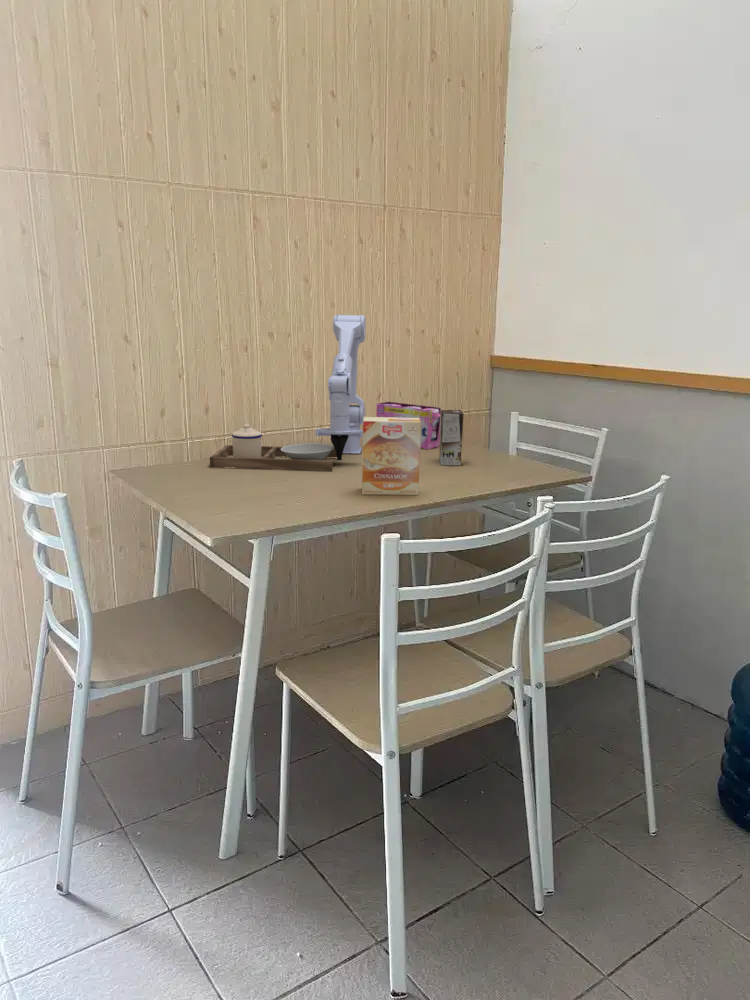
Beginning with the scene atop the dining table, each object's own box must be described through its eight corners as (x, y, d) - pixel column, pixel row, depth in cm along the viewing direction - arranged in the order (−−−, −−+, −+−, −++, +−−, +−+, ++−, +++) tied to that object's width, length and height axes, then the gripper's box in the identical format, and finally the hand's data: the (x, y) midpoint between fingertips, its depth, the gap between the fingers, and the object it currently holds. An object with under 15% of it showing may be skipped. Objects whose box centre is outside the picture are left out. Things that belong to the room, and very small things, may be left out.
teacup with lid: (268, 462, 230) (267, 425, 227) (243, 466, 224) (242, 428, 221) (246, 456, 239) (245, 420, 236) (221, 460, 232) (220, 423, 229)
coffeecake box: (361, 494, 195) (362, 420, 190) (361, 488, 202) (362, 416, 197) (419, 495, 196) (421, 421, 190) (417, 488, 202) (419, 416, 197)
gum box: (443, 447, 260) (445, 408, 256) (430, 450, 254) (432, 410, 250) (388, 438, 274) (389, 401, 270) (374, 441, 268) (375, 403, 264)
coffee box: (461, 465, 231) (464, 413, 227) (440, 465, 231) (442, 413, 227) (458, 459, 240) (461, 409, 235) (438, 459, 240) (440, 408, 236)
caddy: (226, 454, 241) (226, 445, 240) (339, 457, 239) (339, 448, 238) (210, 467, 222) (209, 457, 222) (332, 471, 220) (332, 461, 220)
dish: (299, 472, 219) (299, 455, 217) (270, 463, 229) (270, 447, 228) (345, 464, 230) (345, 448, 229) (316, 456, 240) (316, 441, 239)
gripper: (313, 416, 222) (314, 461, 226) (362, 418, 221) (362, 463, 225) (317, 413, 229) (317, 456, 233) (364, 414, 228) (363, 458, 232)
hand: (339, 459), depth 229 cm, fingers closed
